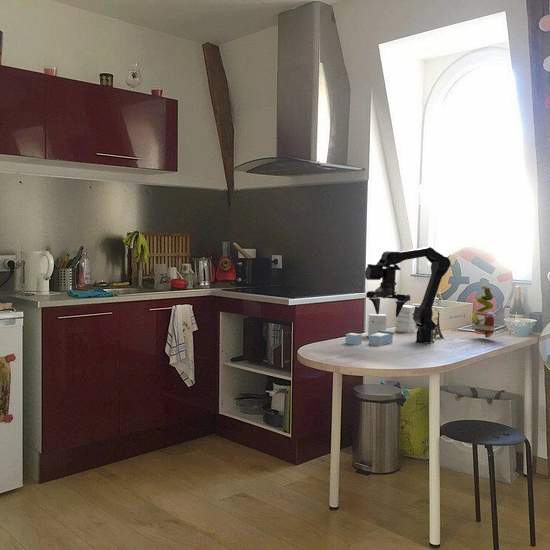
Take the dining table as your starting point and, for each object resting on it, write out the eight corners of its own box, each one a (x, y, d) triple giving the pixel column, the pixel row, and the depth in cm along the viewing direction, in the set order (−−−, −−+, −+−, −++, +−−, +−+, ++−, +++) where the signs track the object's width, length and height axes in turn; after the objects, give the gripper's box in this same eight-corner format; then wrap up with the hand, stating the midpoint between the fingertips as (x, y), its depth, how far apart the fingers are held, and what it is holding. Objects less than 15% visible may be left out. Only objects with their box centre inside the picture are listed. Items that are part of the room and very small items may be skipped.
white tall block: (401, 329, 321) (402, 304, 320) (415, 331, 317) (416, 306, 316) (394, 331, 315) (396, 305, 314) (409, 332, 311) (410, 307, 310)
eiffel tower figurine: (416, 337, 301) (418, 309, 300) (428, 335, 308) (429, 308, 307) (444, 342, 290) (446, 313, 289) (456, 340, 297) (457, 311, 296)
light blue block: (361, 343, 277) (361, 334, 276) (355, 344, 273) (356, 335, 272) (351, 341, 280) (351, 332, 279) (345, 343, 275) (345, 333, 275)
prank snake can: (465, 336, 304) (468, 284, 303) (482, 336, 308) (485, 284, 306) (482, 341, 294) (485, 287, 292) (499, 340, 298) (502, 287, 296)
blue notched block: (394, 342, 282) (395, 331, 282) (381, 346, 271) (382, 335, 271) (379, 340, 286) (380, 329, 286) (366, 344, 276) (366, 332, 275)
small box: (384, 336, 298) (386, 314, 297) (385, 338, 292) (386, 315, 291) (367, 335, 299) (368, 313, 298) (368, 337, 293) (369, 314, 292)
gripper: (361, 279, 278) (359, 315, 279) (400, 282, 267) (398, 319, 268) (372, 278, 287) (371, 312, 288) (411, 281, 276) (409, 317, 277)
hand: (387, 315), depth 280 cm, fingers open, 9 cm apart
